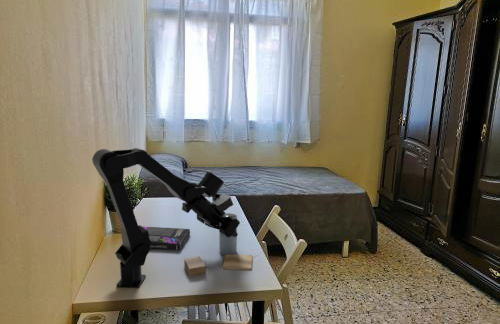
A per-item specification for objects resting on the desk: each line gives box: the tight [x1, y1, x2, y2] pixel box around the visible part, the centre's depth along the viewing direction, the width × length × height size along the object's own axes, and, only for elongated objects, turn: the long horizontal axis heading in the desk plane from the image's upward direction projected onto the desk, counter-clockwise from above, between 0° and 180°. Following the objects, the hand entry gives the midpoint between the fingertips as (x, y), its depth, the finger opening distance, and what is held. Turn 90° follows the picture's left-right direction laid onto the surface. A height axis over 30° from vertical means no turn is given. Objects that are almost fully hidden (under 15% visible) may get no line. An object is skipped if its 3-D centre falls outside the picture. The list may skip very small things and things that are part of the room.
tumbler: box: [218, 212, 238, 256], centre depth 123 cm, size 6×6×13 cm
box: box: [142, 226, 191, 251], centre depth 132 cm, size 14×4×20 cm
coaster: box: [222, 254, 253, 271], centre depth 116 cm, size 9×9×1 cm
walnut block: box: [183, 255, 207, 278], centre depth 111 cm, size 7×5×3 cm
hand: (231, 232), depth 124 cm, fingers closed on tumbler, 6 cm apart
